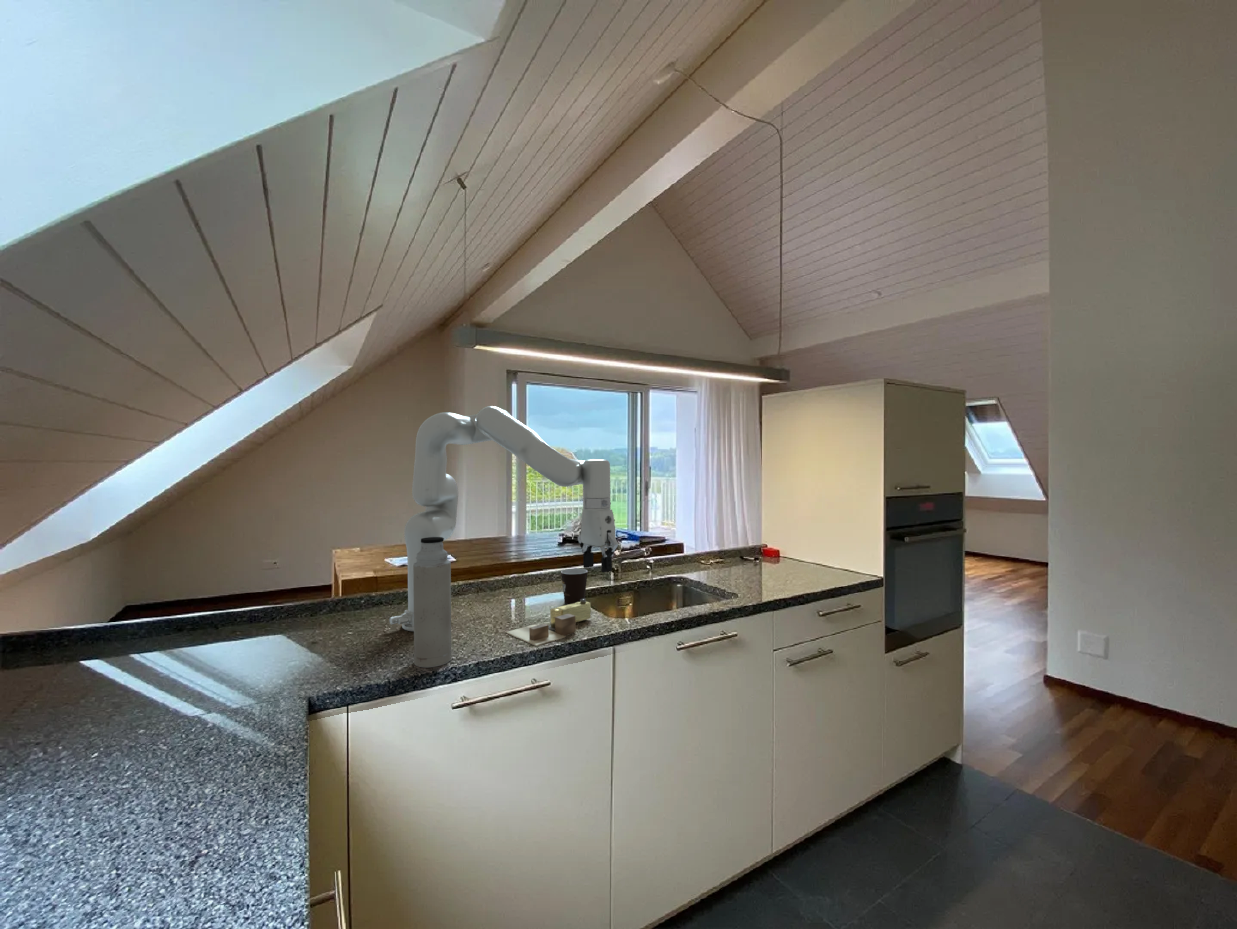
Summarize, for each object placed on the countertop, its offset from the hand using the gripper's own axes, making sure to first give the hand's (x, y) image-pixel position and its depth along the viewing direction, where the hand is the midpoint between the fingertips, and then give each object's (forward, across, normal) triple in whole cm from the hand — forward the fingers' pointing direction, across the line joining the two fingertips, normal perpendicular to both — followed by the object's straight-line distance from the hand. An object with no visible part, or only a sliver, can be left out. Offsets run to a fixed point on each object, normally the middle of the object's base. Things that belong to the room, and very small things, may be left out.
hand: (597, 568), depth 139 cm
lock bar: (+15, +7, +4) cm, 17 cm away
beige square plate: (+16, +6, +13) cm, 22 cm away
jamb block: (+16, +2, +10) cm, 19 cm away
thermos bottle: (+16, +7, +43) cm, 46 cm away
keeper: (+16, +3, +17) cm, 24 cm away
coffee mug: (+16, +26, -12) cm, 33 cm away
